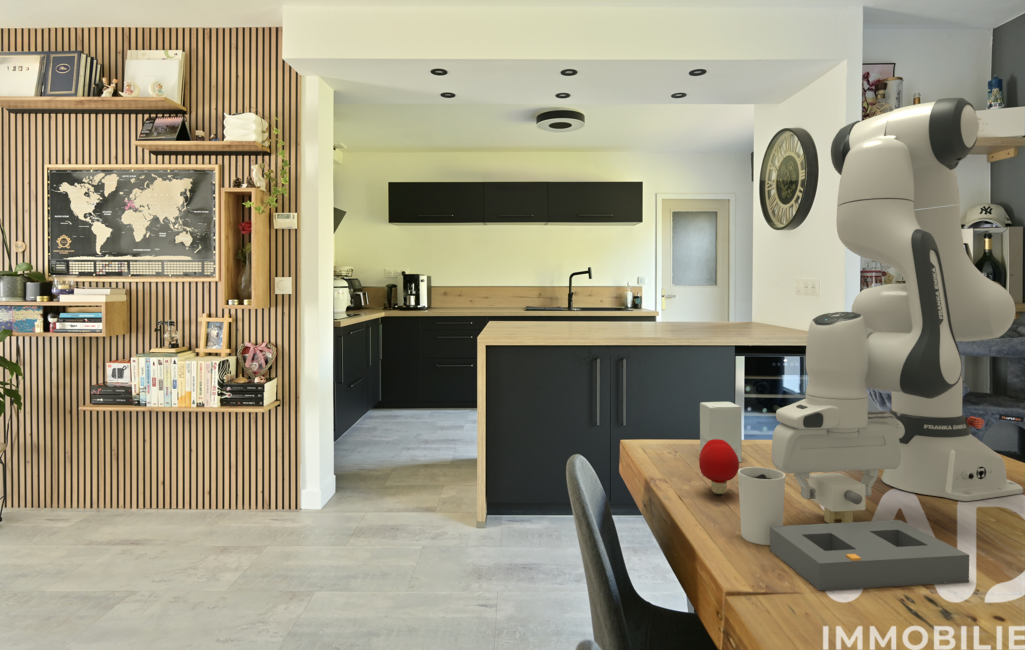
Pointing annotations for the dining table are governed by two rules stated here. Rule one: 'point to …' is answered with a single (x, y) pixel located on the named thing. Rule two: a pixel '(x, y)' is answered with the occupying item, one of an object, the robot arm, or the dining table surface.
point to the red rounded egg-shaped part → (718, 464)
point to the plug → (838, 495)
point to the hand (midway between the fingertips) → (835, 496)
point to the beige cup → (760, 502)
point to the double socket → (867, 555)
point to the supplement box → (721, 424)
